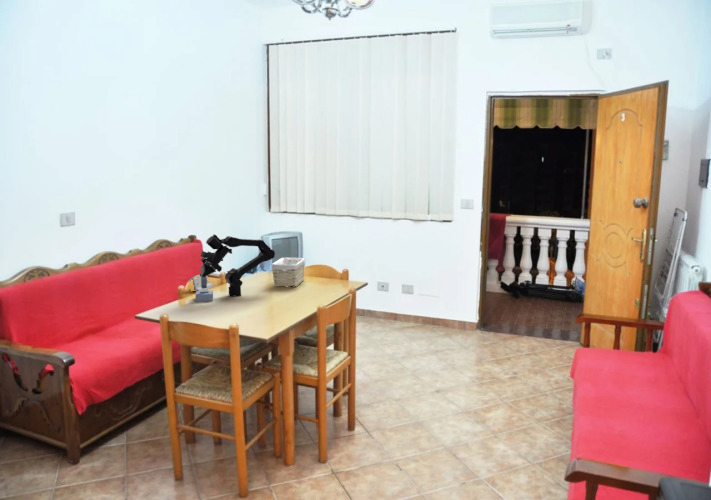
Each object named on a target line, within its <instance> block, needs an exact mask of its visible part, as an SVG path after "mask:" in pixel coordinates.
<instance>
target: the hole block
mask: <svg viewBox="0 0 711 500" xmlns="http://www.w3.org/2000/svg"><path fill="white" fill-rule="evenodd" d="M213 301H214V290H213V289H211V290H209V289H207V290H204V291H195V302H197V303H198V302H199V303H201V302H213Z"/></svg>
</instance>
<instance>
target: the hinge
mask: <svg viewBox="0 0 711 500" xmlns="http://www.w3.org/2000/svg"><path fill="white" fill-rule="evenodd" d="M208 276H209V275H207V276H206V277H207V279H209V277H208ZM195 278H197V279H195ZM191 280H193V285H194V290H195V291H194V292H196V291H208V290H209V289H211V288H213V287H214V285H213V283H211V281H210V279H209V281H208V280H207V288H201V276H200V274H197V275H194V276H193V277H192V278H191V279H189V280H188V283H189V282H190V281H191Z"/></svg>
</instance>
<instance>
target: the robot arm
mask: <svg viewBox="0 0 711 500" xmlns="http://www.w3.org/2000/svg"><path fill="white" fill-rule="evenodd" d="M205 243H206V245H208V246H209V247H210V248H211V249H212V250H213V251H214V250H215V251H214V252H212V251H211V252H210V251H207V252H206V251H203V250H202V251H201V254H200V257H202V258H201V259H200V262H202V265H206V270H205V272H204V273H203V275H202V277H205V276H209V275H211V274H213V273H216V272H219V273H220V272H222V270H223V267H222V266H221V265H220V263H221V262H223V261H224V258H225V257H226V256H227V255H228V254H232V255H233V250H232V249H233V248H237V247H241V246H242V247H243V246H245V247H257V248H258V249H259V253H258V255H257V256H255V257H254V258H252V259H251V260H249V261H248V262H247V263H245V264H242V266H240V267H239V268H231V269H230V270H227V271H226V273H225V276H224V279H225V281H226V282H227V283H228V285H229V287H228V295H229V297H240V296H241V297H242V289H241V288H242V286H243V281H242V280H241V278H242V277H244V275H245V274H247V273H248V272H250V271H251V270H253V269H255V268H256V267H257V266H259V265H261V264H262V263H264V262H269V261H270V260H273V259H274V258H275V257H276V253H275V251H274V249H272V248H271V247H270V246H268V245H267V243H266V242H265V241H264V240H263V239H251V238H250V239H247V238H238V237H233V236H229V235H228V236H226V237H224V238H222V239H220V237H218V235H216V234H212V236H210V237H208V238H207V240H206V242H205ZM199 273H200V274H199V275H200V276H201V272H199Z"/></svg>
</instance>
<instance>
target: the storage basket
mask: <svg viewBox="0 0 711 500" xmlns="http://www.w3.org/2000/svg"><path fill="white" fill-rule="evenodd" d="M290 263H296V264H290ZM305 265H306V259H305V258H304V257H281V258H279V259H277V260H276V261H275V262H273V263H271V271H272V278H273V279H272V280H273V286H274V287H276V286H296V287H298V286H299V285H300V284H301V283H302V282H303V281H304V280H305Z"/></svg>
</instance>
